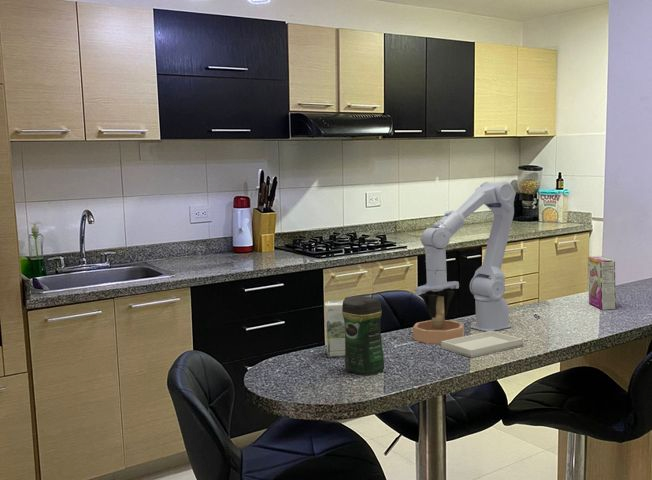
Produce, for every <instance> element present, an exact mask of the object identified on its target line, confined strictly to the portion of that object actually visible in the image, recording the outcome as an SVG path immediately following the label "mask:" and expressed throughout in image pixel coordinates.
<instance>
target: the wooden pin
mask: <svg viewBox="0 0 652 480" xmlns="http://www.w3.org/2000/svg"><path fill="white" fill-rule="evenodd" d="M445 316H446V315H445V314H444V297H443V296H438V297H437V301H436V317H435V318H433V317H431V320H432V328H434V329H443V328H445V320H446V319H445V318H446V317H445Z"/></svg>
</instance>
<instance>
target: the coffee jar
mask: <svg viewBox="0 0 652 480" xmlns="http://www.w3.org/2000/svg"><path fill="white" fill-rule="evenodd" d="M343 300H344V301H343V306H342V314H343V318H344V323H345V356H344V367H345V370H346V371H348V372H350V373H354V374H358V375H363V376H366V375H367V376H368V375H378V374H379V373H381V372H382V371H383V370H384V369H385V360H384V359H385V358H384V351H383V350H384V349H383V342H382V331H381V318H382V311H383V310H382V306H381V300H379V298H376V297H370V296H364V295H353V296H346V297H345V298H344V299H343Z"/></svg>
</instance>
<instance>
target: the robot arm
mask: <svg viewBox="0 0 652 480" xmlns="http://www.w3.org/2000/svg"><path fill="white" fill-rule="evenodd" d="M516 195H517V192H516V190H515V189H514V187H513V185H512V183H510V182H508V181H502V182H499V181H498V182H488V181H487V182H483V183H481V184H480V185H479V186H478V187H476V188H475V190H474V192H473V193H472V194H471V195H470V197H468V199H466V201H464V203H462V204H461V206H459V208H457V209H456V210H449V211H446V212H445V213H444V216H443V217H441V218H440V220H438V221H437V222H435V223H433V226H432V227H427V228H426V229H424V231H423V233H422V235H421V237H420V242H421V244H422V245H423V247H424V252H425V269H426V270H425V271H426V274H425V275H426V283H425V284H423V285H420V286H415V287H414V295H418V296H420V298H422V300H423V302H424V304H425V306H426V310H427V312H428V316H429V317H430V318H432V317H433V318H435V317H436V301H437V297H438V296H443V297H444V314H445V316H447V315H448V311H449V308H450V304H451V301H452V300H453V299H452V298H453V297H454V295H455V290H456V289H459V287H460V283H459V281H456V280H453V281H448V280H447V279H448V278H447V275H448V273H447V254H446V253H447V252H446V251H447V249H446V247H447V246H448V245H449V244H450V240H451V238H452V237H453V236H454V235H455V234H456V233H457V232H458V231H459V230H461V229H462V228H463V227H464V225H465V219H467V218H468V217H469V216H471V214H473V213H474V212H475V211H477V210H478V209H479V208H480V207H482V206H483V205H485V207H487V208H488V209H489V210H490V211H491V212H492V214H493V218H492V219H493V220H492V224H491V227H490V232H489V236H488V240H487V245H486V248H485V252H484V257H483V261H482V265H481V266H479V267H478V268H477V269H476V270H475V272H474V275H473V277H472V278H471V280H470V282H469V291H470V292H471V294H472V295H473V298H474V299H475V302H474V303H475V305H474V306H475V324H473V325H470V326H469V328H471V329H473V330H475V329H476V330H478V331H482V332H488V331H495V332H496V331H498V330H504V329H508V328H511V327H512V325H510V316H509V315H510V314H509V311H510V310H509V304H508V301H507V300H506V299H505V298H504V297H503V296H504V295H505V292H506V283H505V281H506V275H505V274H504V273H503V271H502V270H501V269H502V266H503V265H502V264H503V262H504V258H505V253H506V249H507V244H508V240H509V236H510V231H511V229H512V224H513V220H514V215H515V207H514V205H515V203H514V202H515V199H516V198H515V197H516ZM453 289H455V290H453ZM436 292H437V294H435V293H436Z"/></svg>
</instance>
